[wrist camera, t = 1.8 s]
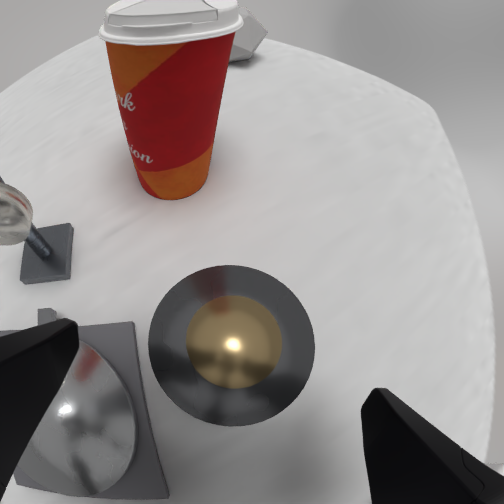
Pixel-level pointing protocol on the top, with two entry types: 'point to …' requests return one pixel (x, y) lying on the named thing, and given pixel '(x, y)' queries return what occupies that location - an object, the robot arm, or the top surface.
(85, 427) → the platter
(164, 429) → the top surface
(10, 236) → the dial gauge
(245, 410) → the cylinder with brass cap
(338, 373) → the top surface
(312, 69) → the top surface
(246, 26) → the die
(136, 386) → the turntable base
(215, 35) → the paper cup
